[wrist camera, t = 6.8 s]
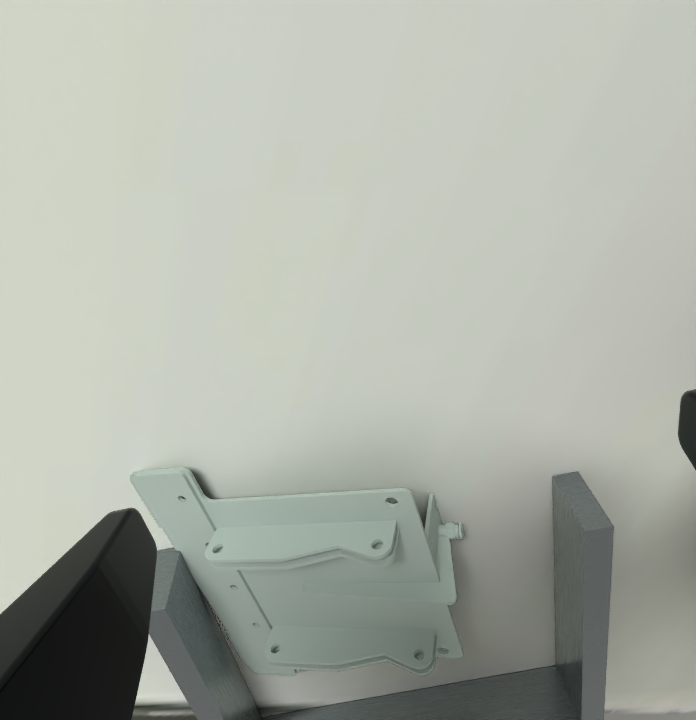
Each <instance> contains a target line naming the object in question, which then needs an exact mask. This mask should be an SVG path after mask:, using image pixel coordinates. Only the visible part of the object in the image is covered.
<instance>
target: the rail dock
mask: <svg viewBox="0 0 696 720" xmlns="http://www.w3.org/2000/svg"><path fill="white" fill-rule="evenodd" d="M553 524H554V578H555V631H556V666H550V667H545V668H539V669H533V670H528V671H522V672H516V673H511V674H505V675H499V676H494V677H488V678H482V679H477V680H471V681H465V682H460V683H454V684H448V685H443V686H437V687H431V688H426V689H420V690H414V691H409V692H403V693H397V694H392V695H386V696H380V697H375V698H369V699H363V700H358V701H352V702H346V703H341V704H335V705H329V706H324V707H318V708H312V709H306V710H301V711H295V712H289V713H284V714H278V715H272V716H267V717H261V715H260V713H259V711H258V708H257V706H256V704H255V702H254V700H253V698H252V696H251V694H250V691H249V689H248V687H247V685H246V683H245V681H244V679H243V676H242V674H241V672H240V670H239V668H238V666H237V664H236V662H235V659H234V657H233V655H232V653H231V651H230V649H229V647H228V644H227V642H226V640H225V638H224V636H223V634H222V632H221V630H220V627H219V625H218V623H217V621H216V619H215V617H214V615H213V612H212V610H211V608H210V606H209V604H208V602H207V600H206V598H205V595H204V594H203V592H202V591H201V589H200V587H199V586H198V584H197V583H196V581H195V580H194V577H193V575H192V573H191V571H190V569H189V567H188V565H187V563H186V561H185V559H184V557H183V555H182V553H181V551H176V549H175V548H170V549H164V550H159V551H157V561H156V571H155V580H154V590H153V599H152V609H151V618H150V628H149V635H150V636H151V638H152V640H153V642H154V643H155V645H156V647H157V649H158V650H159V652H160V654H161V656H162V657H163V659H164V661H165V663H166V664H167V666H168V668H169V670H170V672H171V673H172V675H173V677H174V679H175V680H176V682H177V684H178V686H179V687H180V689H181V691H182V693H183V694H184V696H185V698H186V700H187V701H188V703H189V705H190V707H191V708H192V710H193V712H194V714H195V716H196V717H197V719H198V720H604V703H605V684H606V665H607V646H608V627H609V608H610V588H611V569H612V550H613V531H614V526H613V524H612V523H611V521H610V520H609V518H608V517H607V515H606V514H605V512H604V511H603V509H602V507H601V506H600V504H599V503H598V501H597V500H596V498H595V497H594V495H593V494H592V492H591V491H590V489H589V488H588V486H587V485H586V483H585V482H584V480H583V478H582V477H581V475H580V474H579V472H573V473H568V474H562V475H557V476H553Z"/></svg>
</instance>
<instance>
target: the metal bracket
mask: <svg viewBox="0 0 696 720" xmlns="http://www.w3.org/2000/svg"><path fill="white" fill-rule="evenodd" d="M130 481H131V483H132V484H133V486H134V488H135V489H136V491H137V492H138V494H139V496H140V497H141V499H142V500H143V502H144V504H145V505H146V507H147V509H148V510H149V512H150V513H151V515H152V517H153V518H154V520H155V521H156V523H157V525H158V526H159V527H160V528H162V529H163V530H164V532H165V534H166V535H167V537H168V538H169V540H170V542H171V543H172V545H173V546H174V548H175V549H176V551H181V553H182V555H183V557H184V559H185V561H186V563H187V565H188V567H189V569H190V571H191V573H192V575H193V577H194V580H195V581H196V583H197V584H198V586H199V587H200V589H201V591H202V592H203V594H204V595H205V597H206V599H207V600H208V602H209V603H210V605H211V606H212V608H213V610H214V611H215V613H216V614H217V616H218V618H219V619H220V621H221V622H222V624H223V625H224V627H225V629H226V630H227V632H228V634H227V637H228V638H229V640H230V641H231V643H232V645H233V646H234V648H235V650H236V651H237V653H238V654H239V656H240V658H241V659H242V661H243V662H244V664H245V665H247V666H248V667H249V668H251V670H252V671H253V672H254V673H256V674H267V675H285V676H295V675H296V673H298V672H299V671H300V670H318V671H337V672H338V671H344V670H349V669H353V668H358V667H363V666H367V665H372V664H377V663H381V662H386V661H388V662H390V663H392V664H394V665H396V666H399V667H401V668H403V669H405V670H407V671H409V672H412V673H414V674H416V675H419V676H425V675H427V674H429V673H430V672H432V670H433V669H434V667H435V662H436V658H455V659H457V658H461V657H463V649H462V646H461V643H460V640H459V637H458V634H457V630H456V627H455V624H454V621H453V618H452V615H451V612H450V608H449V605H453V604H454V603H455V602H456V601H457V594H456V586H455V577H454V569H453V561H452V553H451V545H450V540H456V538H460V539H461V540H464V528H463V524H462V522H459V524H454V523H446V524H444V525H443V524H442V521H441V518H440V514H439V511H438V507H436V505H435V503H436V501H435V497H434V494H433V493H430V494H429V500H428V508H427V516H426V523H425V530H424V527H423V524H422V521H421V517H420V514H419V511H418V508H417V505H416V502H415V499H414V495H413V493H412V492H411V491H410V490H409V489H407V488H392V489H376V490H359V491H343V492H327V493H311V494H295V495H279V496H262V497H246V498H230V499H209V498H208V497H206V496H205V495H204V493H203V492H202V490H201V488H200V486H199V484H198V483H197V481H196V479H195V477H194V475H193V474H192V472H191V471H190V470H189V469H187V468H185V467H177V468H165V469H154V470H142V471H137V472H134V473H132V474H131V475H130ZM181 496H183V497H184V498H185V499H183V498H182V497H181ZM387 498H394V499H396V500H397V501H398V503H396V504H391V503H389V502H387V500H386V499H387ZM234 585H235V586H234ZM439 648H445V649H447V651H443V650H440V649H439ZM420 658H422V659H420Z"/></svg>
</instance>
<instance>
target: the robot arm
mask: <svg viewBox="0 0 696 720" xmlns="http://www.w3.org/2000/svg"><path fill="white" fill-rule="evenodd" d="M678 437H679V442H680V444H681V447H682V449H683V450H684V452H685V454H686V455H687V457H688V458H689V460H690V462H691V463H692V465H693V466H694V468H695V470H696V389H694V390H690V391H687V392H685V393H684V394H683V395H682V397H681V402H680V414H679V426H678ZM156 561H157V548H156V544H155V541H154V539H153V537H152V535H151V533H150V531H149V529H148V528H147V526H146V524H145V522H144V520H143V518H142V516H141V514H140V513H139V511H138V510H136V509H135V508H127V509H122V510H117V511H113V512H110V513H109V514H107V515H106V516H105V517H104V518H103V519H102V520H101V521H100V522H99V523H98V524H97V525H95V526H94V527H93V528H92V529H91V530H90V531H89V532H88V533H87V534H86V535H85V536H84V537H83V538H82V539H80V540H79V541H78V542H77V543H76V544H75V545H74V546H73V547H72V548H71V549H70V550H69V551H68V552H67V553H65V554H64V555H63V556H62V557H61V558H60V559H59V560H58V561H57V562H56V563H55V564H54V565H53V566H52V567H50V568H49V569H48V570H47V571H46V572H45V573H44V574H43V575H42V576H41V577H40V578H39V579H38V580H37V581H36V582H34V583H33V584H32V585H31V586H30V587H29V588H28V589H27V590H26V591H25V592H24V593H23V594H22V595H21V596H19V597H18V598H17V599H16V600H15V601H14V602H13V603H12V604H11V605H10V606H9V607H8V608H7V609H6V610H4V611H3V612H2V613H1V614H0V720H131V719H132V714H133V710H134V705H135V700H136V696H137V691H138V687H139V682H140V677H141V673H142V668H143V663H144V659H145V653H146V648H147V643H148V635H149V628H150V618H151V609H152V599H153V590H154V580H155V571H156Z"/></svg>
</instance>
